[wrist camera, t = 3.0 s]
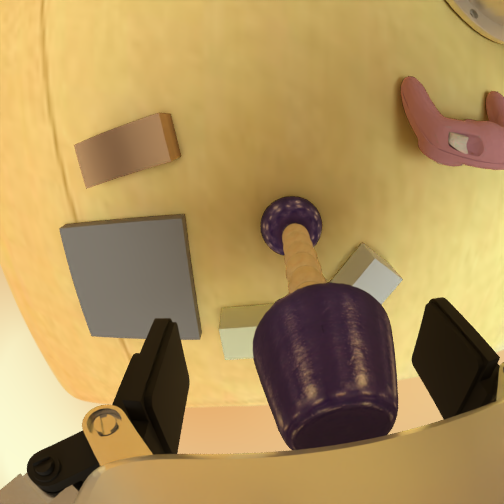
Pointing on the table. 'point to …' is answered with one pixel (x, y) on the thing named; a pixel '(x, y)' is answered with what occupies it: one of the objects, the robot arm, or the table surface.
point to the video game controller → (455, 130)
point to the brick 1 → (128, 149)
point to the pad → (133, 275)
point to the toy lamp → (322, 344)
